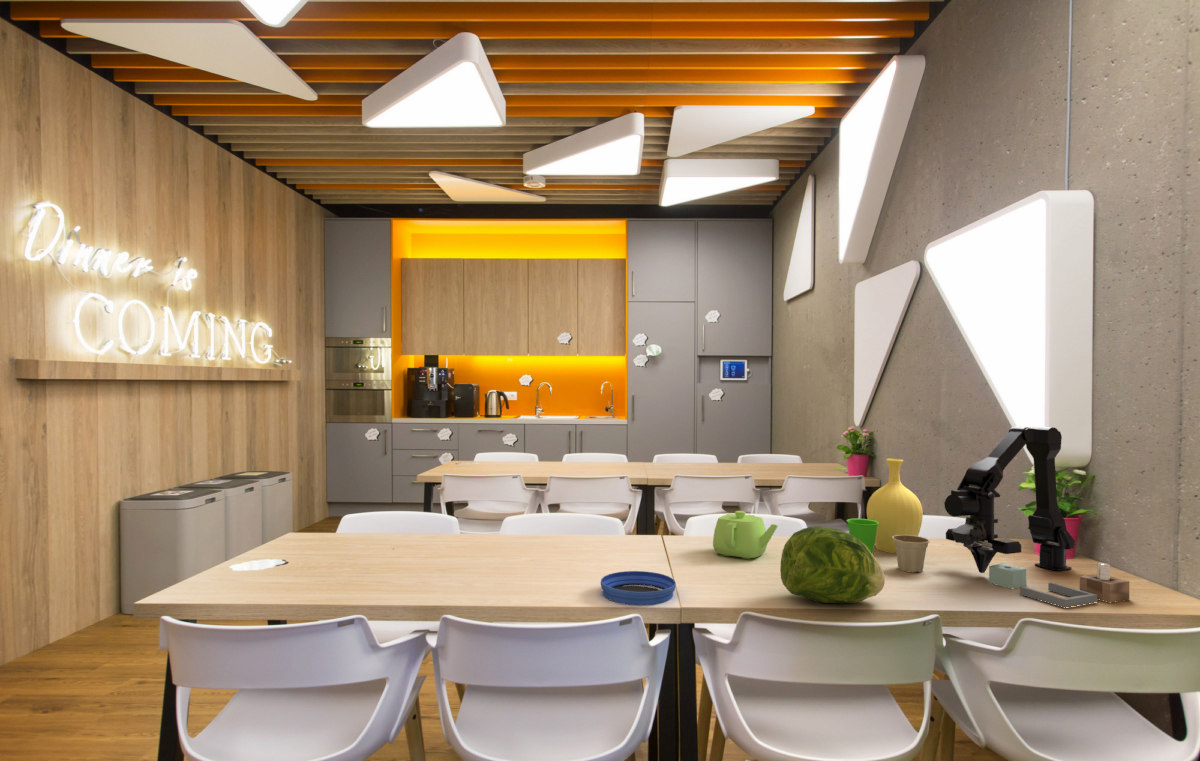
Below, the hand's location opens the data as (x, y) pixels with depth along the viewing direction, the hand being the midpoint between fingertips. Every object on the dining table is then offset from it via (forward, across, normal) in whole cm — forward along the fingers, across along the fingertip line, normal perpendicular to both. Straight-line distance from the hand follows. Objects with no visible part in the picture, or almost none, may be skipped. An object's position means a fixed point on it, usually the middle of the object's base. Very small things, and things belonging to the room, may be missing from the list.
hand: (981, 572), depth 181 cm
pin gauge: (+1, +23, +12) cm, 26 cm away
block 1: (+1, +8, 0) cm, 8 cm away
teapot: (+1, -40, -47) cm, 62 cm away
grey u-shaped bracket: (+1, +20, 0) cm, 21 cm away
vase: (+1, -32, +1) cm, 32 cm away
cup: (+1, -26, -17) cm, 31 cm away
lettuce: (+1, +3, -52) cm, 52 cm away
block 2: (+1, +23, +12) cm, 26 cm away
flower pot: (+1, -12, -13) cm, 17 cm away
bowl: (+1, -17, -93) cm, 95 cm away
